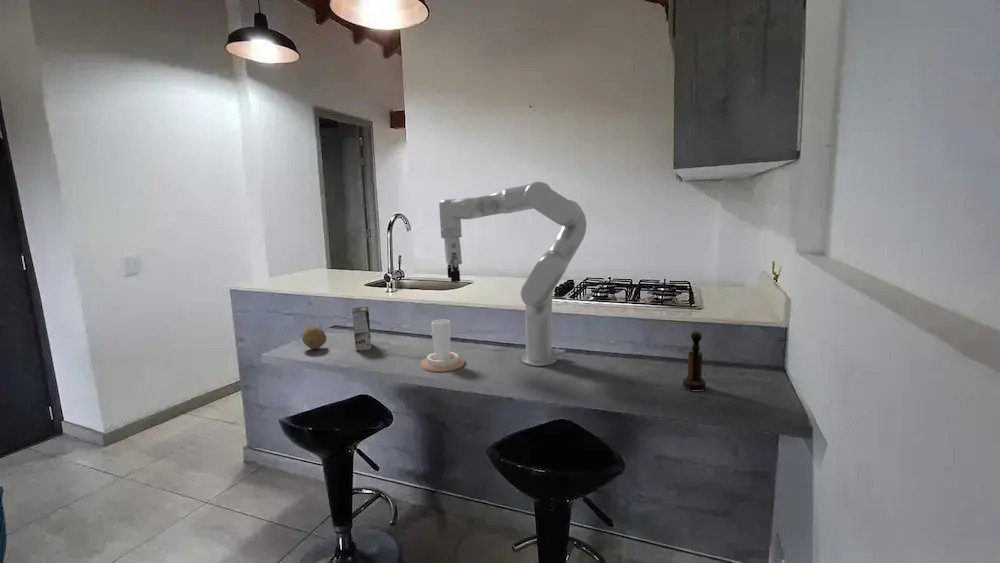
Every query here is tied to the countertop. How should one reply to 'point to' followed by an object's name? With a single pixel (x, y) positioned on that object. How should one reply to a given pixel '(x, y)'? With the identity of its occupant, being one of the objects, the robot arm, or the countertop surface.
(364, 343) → the coffee box
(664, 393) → the countertop surface
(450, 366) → the tan saucer
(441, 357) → the drinking glass
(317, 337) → the natural sponge
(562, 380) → the countertop surface
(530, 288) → the robot arm
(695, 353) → the dark chess pawn
